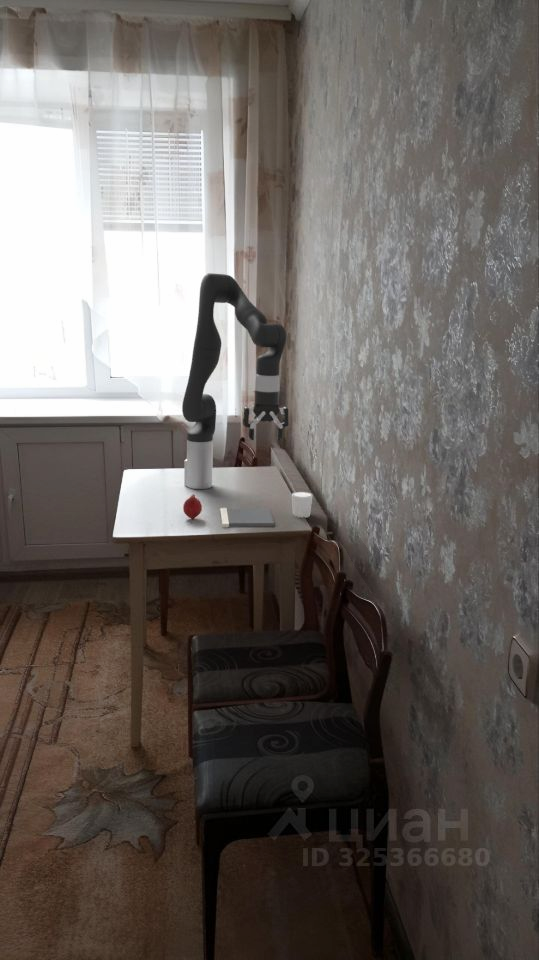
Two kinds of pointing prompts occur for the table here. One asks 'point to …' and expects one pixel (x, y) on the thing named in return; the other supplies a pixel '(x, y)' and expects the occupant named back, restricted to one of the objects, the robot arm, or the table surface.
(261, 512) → the mat
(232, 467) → the table surface
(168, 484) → the table surface
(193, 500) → the onion
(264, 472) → the table surface
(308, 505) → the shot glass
